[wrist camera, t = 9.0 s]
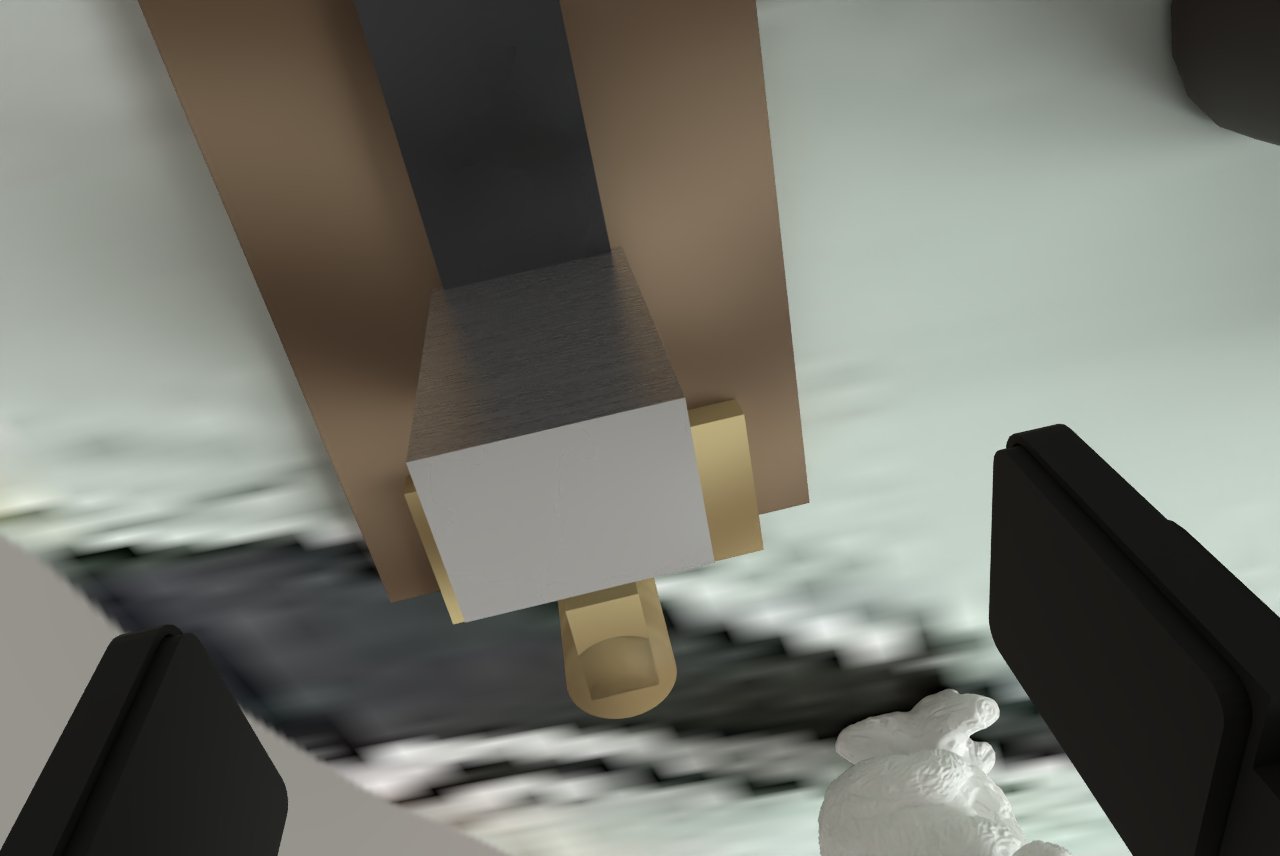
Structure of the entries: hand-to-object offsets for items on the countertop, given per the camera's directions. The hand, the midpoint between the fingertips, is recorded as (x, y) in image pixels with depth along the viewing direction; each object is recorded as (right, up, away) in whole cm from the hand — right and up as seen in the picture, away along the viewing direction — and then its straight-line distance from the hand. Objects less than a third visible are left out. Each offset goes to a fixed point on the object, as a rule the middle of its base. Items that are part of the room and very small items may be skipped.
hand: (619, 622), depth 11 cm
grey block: (-3, +9, +6) cm, 11 cm away
